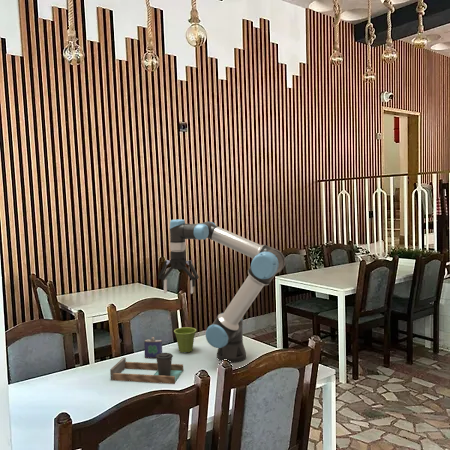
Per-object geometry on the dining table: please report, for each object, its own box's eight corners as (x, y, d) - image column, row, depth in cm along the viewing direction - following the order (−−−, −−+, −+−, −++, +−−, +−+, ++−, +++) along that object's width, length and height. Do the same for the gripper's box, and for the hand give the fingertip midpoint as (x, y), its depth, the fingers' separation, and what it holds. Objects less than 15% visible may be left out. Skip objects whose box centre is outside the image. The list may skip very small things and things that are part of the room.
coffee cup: (170, 378, 226) (169, 357, 225) (153, 377, 228) (152, 356, 227) (175, 372, 234) (175, 351, 233) (159, 371, 236) (158, 350, 235)
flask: (162, 356, 258) (162, 336, 257) (161, 358, 255) (161, 338, 254) (145, 356, 258) (144, 336, 257) (144, 358, 255) (143, 338, 255)
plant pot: (172, 348, 270) (172, 328, 269) (193, 346, 273) (193, 326, 273) (177, 355, 259) (176, 334, 258) (199, 353, 262) (198, 332, 261)
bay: (183, 370, 238) (183, 360, 237) (174, 383, 222) (173, 372, 221) (123, 367, 243) (123, 357, 242) (110, 380, 227) (110, 369, 227)
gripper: (204, 249, 248) (204, 291, 250) (156, 249, 253) (157, 290, 254) (200, 251, 241) (201, 295, 243) (151, 251, 245) (152, 293, 247)
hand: (178, 292), depth 249 cm, fingers open, 13 cm apart
